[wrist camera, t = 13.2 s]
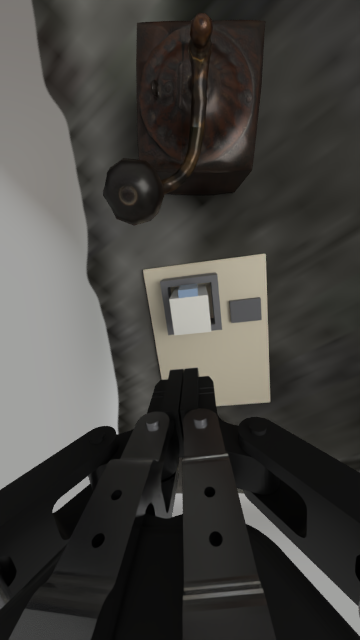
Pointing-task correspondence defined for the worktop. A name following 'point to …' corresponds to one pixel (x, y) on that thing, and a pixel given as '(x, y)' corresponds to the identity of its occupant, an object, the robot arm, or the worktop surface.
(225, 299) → the board
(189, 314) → the plug
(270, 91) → the worktop surface
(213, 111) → the manual coffee grinder
